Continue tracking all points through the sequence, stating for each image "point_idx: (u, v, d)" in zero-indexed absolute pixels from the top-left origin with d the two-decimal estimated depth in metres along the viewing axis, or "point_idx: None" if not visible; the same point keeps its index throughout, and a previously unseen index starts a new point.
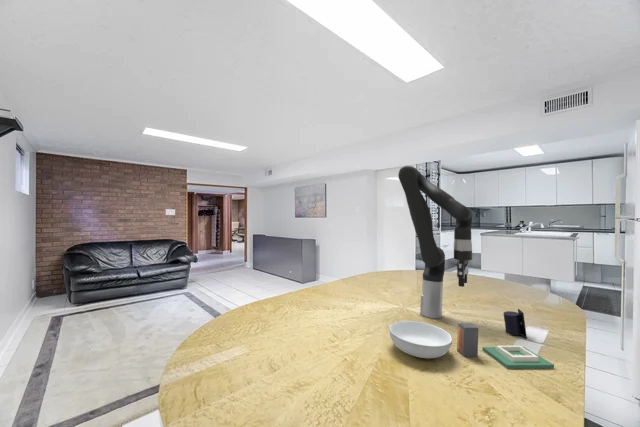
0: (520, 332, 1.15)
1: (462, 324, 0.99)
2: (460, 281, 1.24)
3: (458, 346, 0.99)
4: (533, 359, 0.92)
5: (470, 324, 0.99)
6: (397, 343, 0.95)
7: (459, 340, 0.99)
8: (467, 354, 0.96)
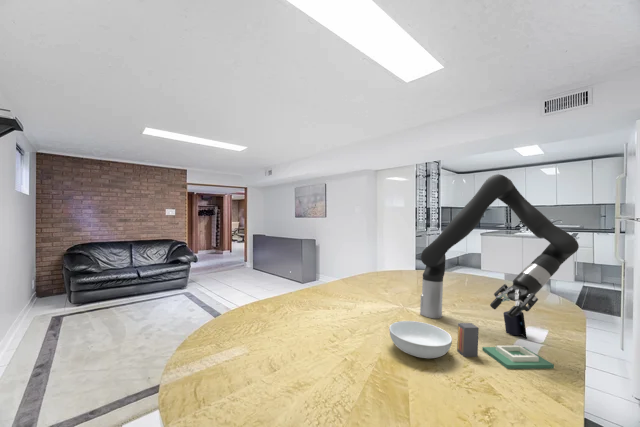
0: (520, 332, 1.15)
1: (462, 324, 0.99)
2: (516, 311, 0.94)
3: (458, 346, 0.99)
4: (533, 359, 0.92)
5: (470, 324, 0.99)
6: (397, 343, 0.95)
7: (459, 340, 0.99)
8: (467, 354, 0.96)
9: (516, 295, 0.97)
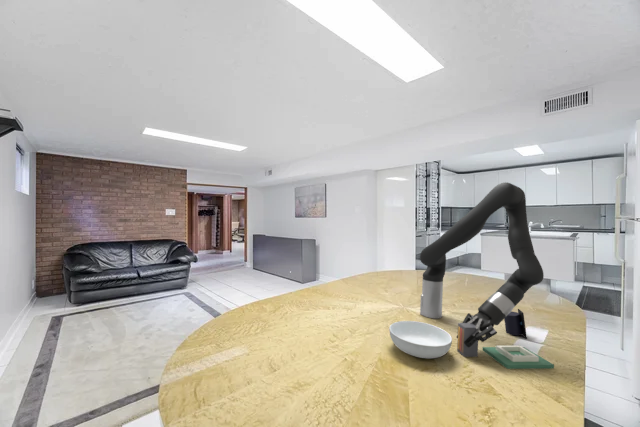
0: (520, 332, 1.15)
1: (462, 324, 0.99)
2: (472, 341, 0.95)
3: (458, 346, 0.99)
4: (533, 359, 0.92)
5: (470, 324, 0.99)
6: (397, 343, 0.95)
7: (459, 340, 0.99)
8: (467, 354, 0.96)
9: (477, 324, 0.97)
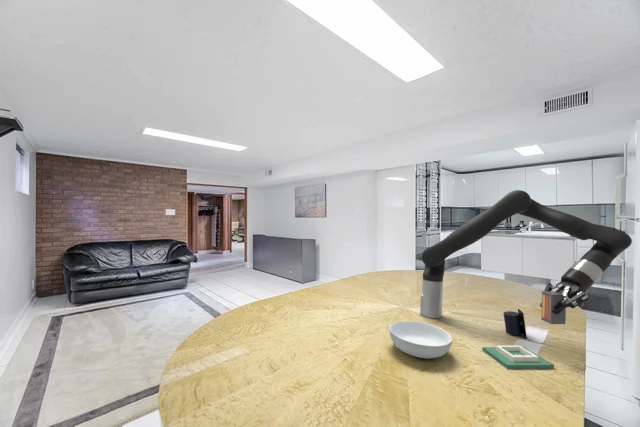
0: (520, 332, 1.15)
1: (547, 292, 0.97)
2: (561, 308, 0.93)
3: (543, 314, 0.98)
4: (533, 359, 0.92)
5: (555, 292, 0.97)
6: (397, 343, 0.95)
7: (544, 308, 0.97)
8: (555, 321, 0.94)
9: (565, 291, 0.95)
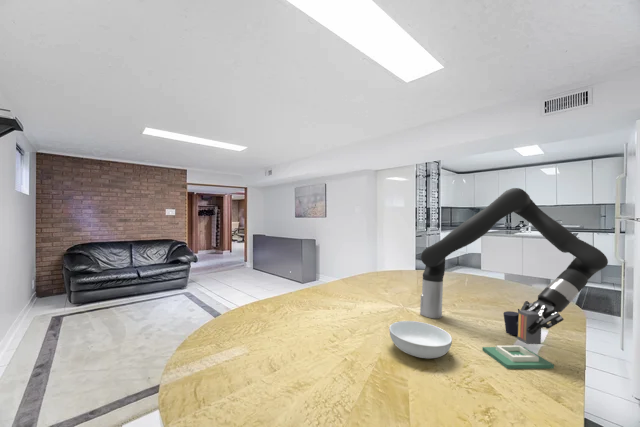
0: None
1: (523, 311, 0.97)
2: (536, 328, 0.93)
3: (519, 334, 0.97)
4: (533, 359, 0.92)
5: (531, 311, 0.97)
6: (397, 343, 0.95)
7: (520, 327, 0.97)
8: (530, 341, 0.94)
9: (540, 311, 0.95)
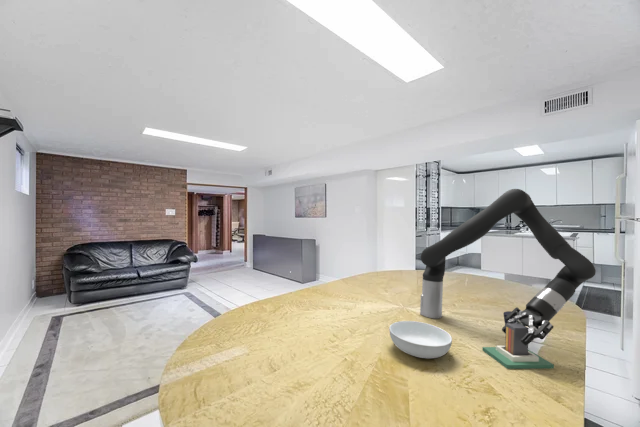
0: None
1: (510, 324, 0.96)
2: (530, 339, 0.90)
3: (506, 347, 0.97)
4: (533, 359, 0.92)
5: (518, 324, 0.97)
6: (397, 343, 0.95)
7: (508, 341, 0.96)
8: (517, 355, 0.93)
9: (530, 321, 0.93)
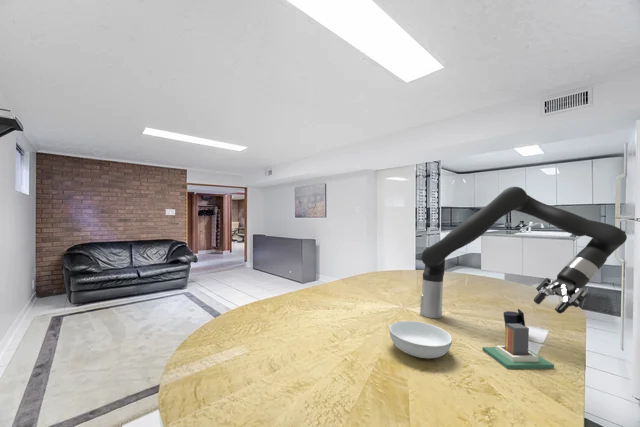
0: None
1: (511, 324, 0.96)
2: (564, 307, 0.92)
3: (506, 347, 0.97)
4: (533, 359, 0.92)
5: (519, 324, 0.96)
6: (397, 343, 0.95)
7: (508, 341, 0.96)
8: (517, 355, 0.93)
9: (563, 290, 0.95)
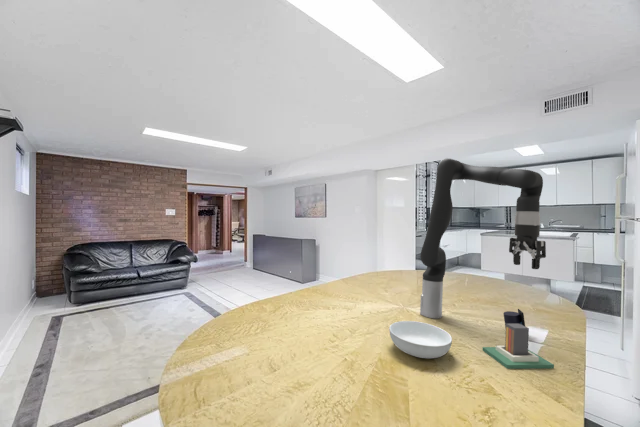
0: None
1: (511, 324, 0.96)
2: (537, 263, 1.00)
3: (506, 347, 0.97)
4: (533, 359, 0.92)
5: (519, 324, 0.96)
6: (397, 343, 0.95)
7: (508, 341, 0.96)
8: (517, 355, 0.93)
9: (527, 248, 1.03)
